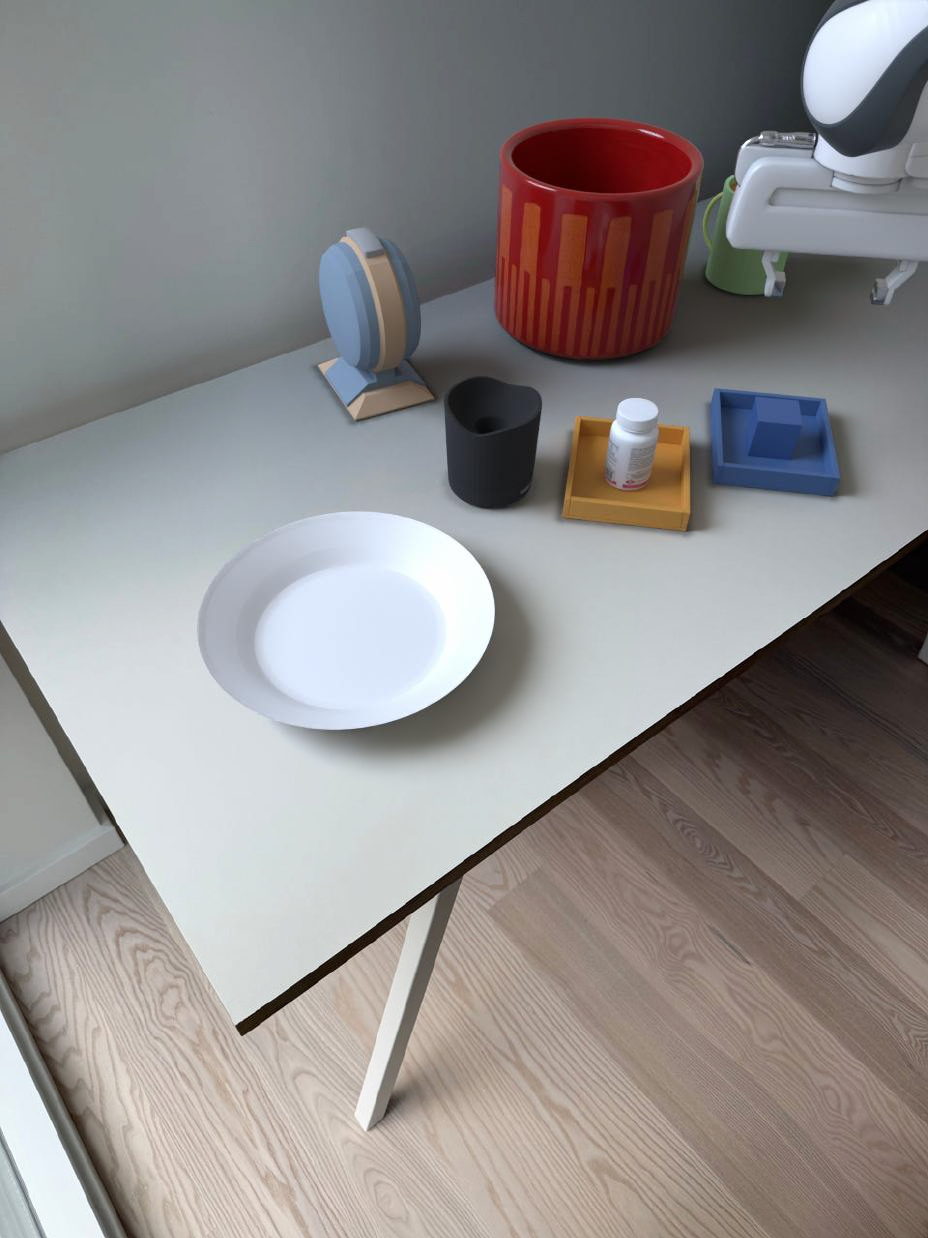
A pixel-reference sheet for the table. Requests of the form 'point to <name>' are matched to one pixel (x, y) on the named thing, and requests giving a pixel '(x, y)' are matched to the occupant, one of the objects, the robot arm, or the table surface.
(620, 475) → the pill bottle
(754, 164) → the robot arm
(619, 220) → the planter
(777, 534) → the table surface
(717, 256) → the mug
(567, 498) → the amber tray
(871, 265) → the table surface
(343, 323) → the alarm clock
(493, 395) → the pen holder
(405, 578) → the white plate
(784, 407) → the blue block
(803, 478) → the blue tray
